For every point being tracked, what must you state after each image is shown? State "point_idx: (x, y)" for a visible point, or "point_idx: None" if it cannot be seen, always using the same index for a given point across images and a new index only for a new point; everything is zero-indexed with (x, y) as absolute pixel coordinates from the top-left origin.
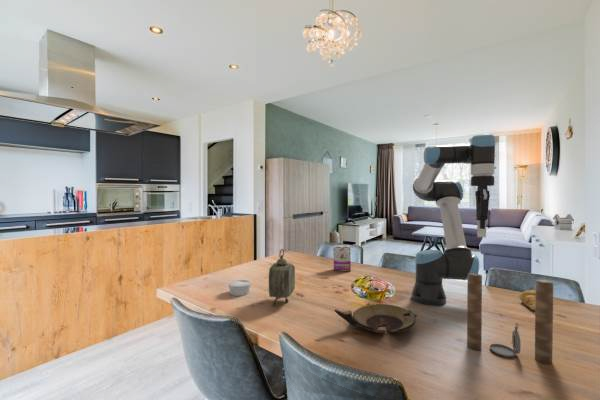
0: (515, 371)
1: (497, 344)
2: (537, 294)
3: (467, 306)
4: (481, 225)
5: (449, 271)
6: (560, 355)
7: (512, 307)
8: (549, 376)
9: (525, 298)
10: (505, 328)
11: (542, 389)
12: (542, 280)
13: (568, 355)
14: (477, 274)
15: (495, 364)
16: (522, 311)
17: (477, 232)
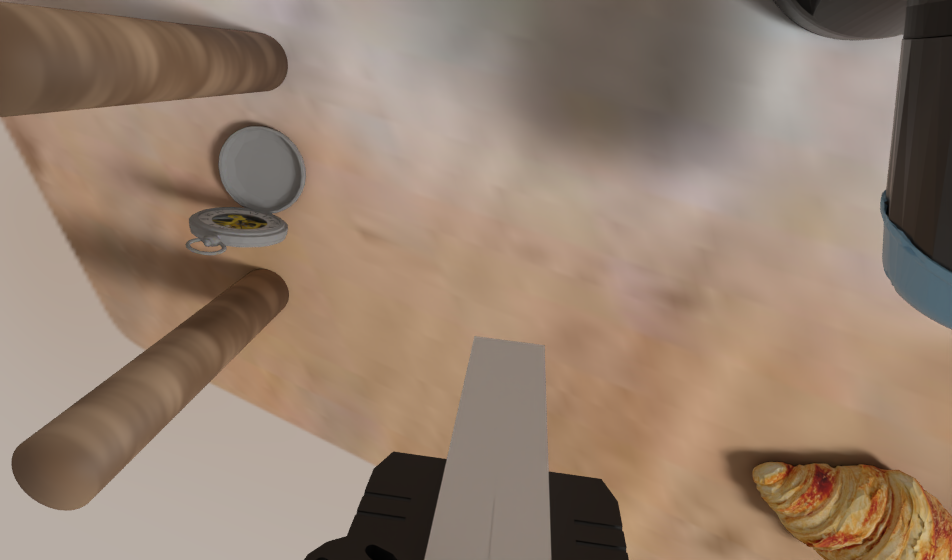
0: (140, 165)
1: (301, 166)
2: (91, 394)
3: (153, 20)
4: (358, 516)
5: (911, 40)
6: (328, 363)
7: (798, 393)
8: (161, 263)
9: (856, 487)
10: (508, 262)
11: (71, 208)
12: (82, 478)
13: (338, 388)
14: (17, 89)
15: (155, 109)
16: (747, 415)
17: (509, 378)
